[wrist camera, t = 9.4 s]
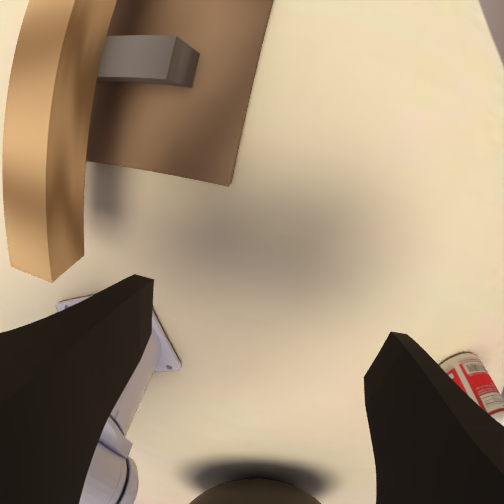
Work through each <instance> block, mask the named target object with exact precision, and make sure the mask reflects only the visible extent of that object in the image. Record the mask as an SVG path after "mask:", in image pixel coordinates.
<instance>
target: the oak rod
mask: <svg viewBox="0 0 504 504" xmlns="http://www.w3.org/2000/svg"><path fill="white" fill-rule="evenodd" d="M116 1H117V0H29V3H28V6H27V10H26V13H25V16H24V19H23V23H22V26H21V30H20V34H19V37H18V41H17V46H16V50H15V54H14V59H13V64H12V69H11V75H10V81H9V87H8V94H7V102H6V111H5V122H4V136H3V201H4V215H5V226H6V235H7V243H8V251H9V257H10V264H11V267H14V268H16V269H18V270H21V271H23V272H26V273H28V274H31V275H33V276H36V277H38V278H41V279H43V280H46V281H49V282H51V283H52V282H54V281H55V280H56V279H57V278H58V277H59V276H60V275H62V274H63V273H64V272H65V271H66V270H67V269H69V268H70V267H71V266H72V265H73V264H75V263H76V262H77V261H78V260H79V259H81V258H82V257H83V256H84V182H85V166H86V153H87V142H88V133H89V125H90V117H91V110H92V103H93V97H94V91H95V85H96V80H97V75H98V70H99V65H100V60H101V56H102V52H103V47H104V43H105V39H106V35H107V32H108V28H109V24H110V21H111V17H112V14H113V11H114V7H115V4H116Z"/></svg>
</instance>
